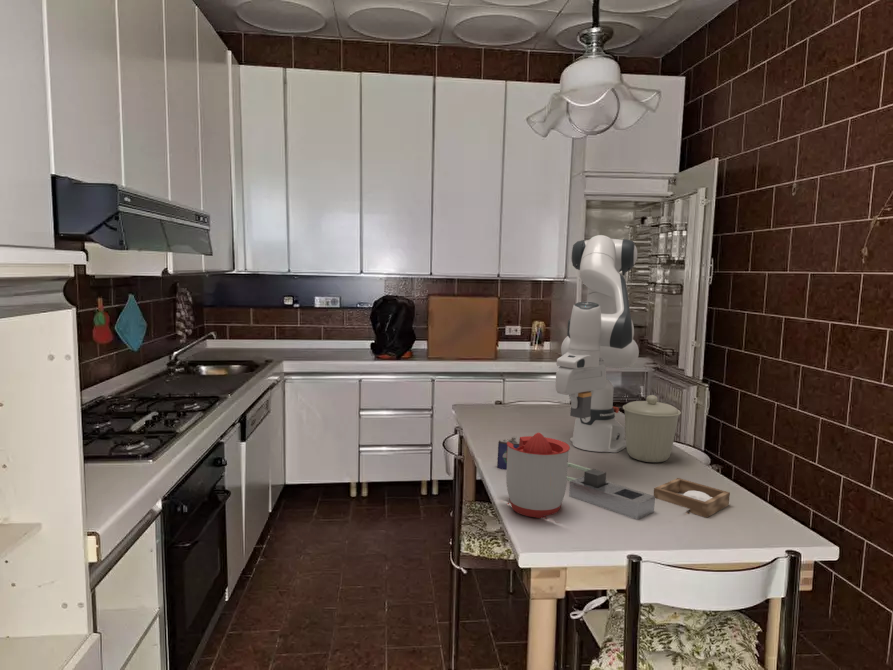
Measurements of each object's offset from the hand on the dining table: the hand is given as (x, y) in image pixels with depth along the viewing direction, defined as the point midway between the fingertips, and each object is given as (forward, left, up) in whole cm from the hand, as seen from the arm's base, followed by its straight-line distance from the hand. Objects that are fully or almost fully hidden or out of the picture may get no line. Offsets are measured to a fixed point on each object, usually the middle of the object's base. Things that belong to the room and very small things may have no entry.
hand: (580, 406), depth 179 cm
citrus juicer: (+28, +6, -22) cm, 36 cm away
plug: (0, 0, -3) cm, 3 cm away
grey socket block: (+11, +18, -22) cm, 30 cm away
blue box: (+9, -17, -22) cm, 29 cm away
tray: (-1, -2, -22) cm, 22 cm away
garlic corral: (-9, +30, -22) cm, 38 cm away
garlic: (-9, +32, -22) cm, 40 cm away
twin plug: (+11, +13, -21) cm, 27 cm away
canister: (-37, +2, -22) cm, 43 cm away
